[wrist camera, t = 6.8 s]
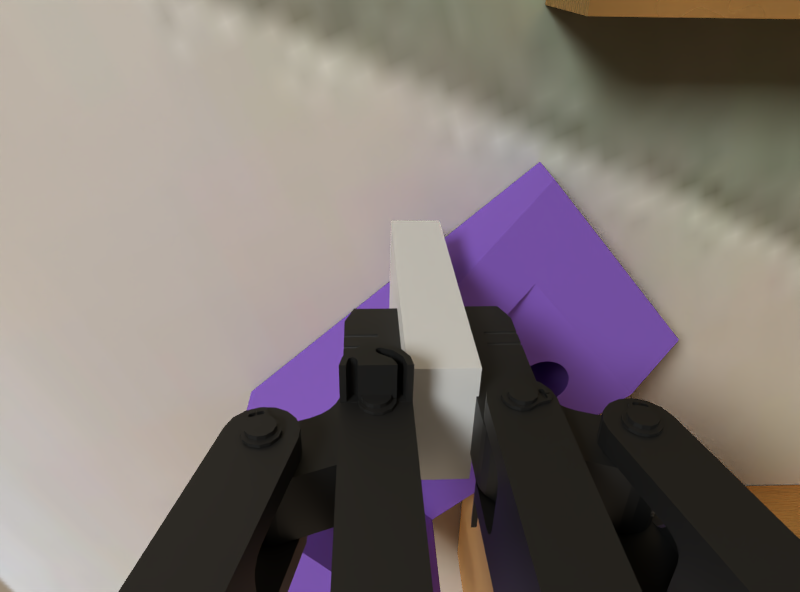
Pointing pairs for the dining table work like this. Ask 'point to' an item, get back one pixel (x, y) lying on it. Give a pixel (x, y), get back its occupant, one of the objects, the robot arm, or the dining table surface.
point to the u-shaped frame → (785, 501)
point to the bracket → (533, 320)
